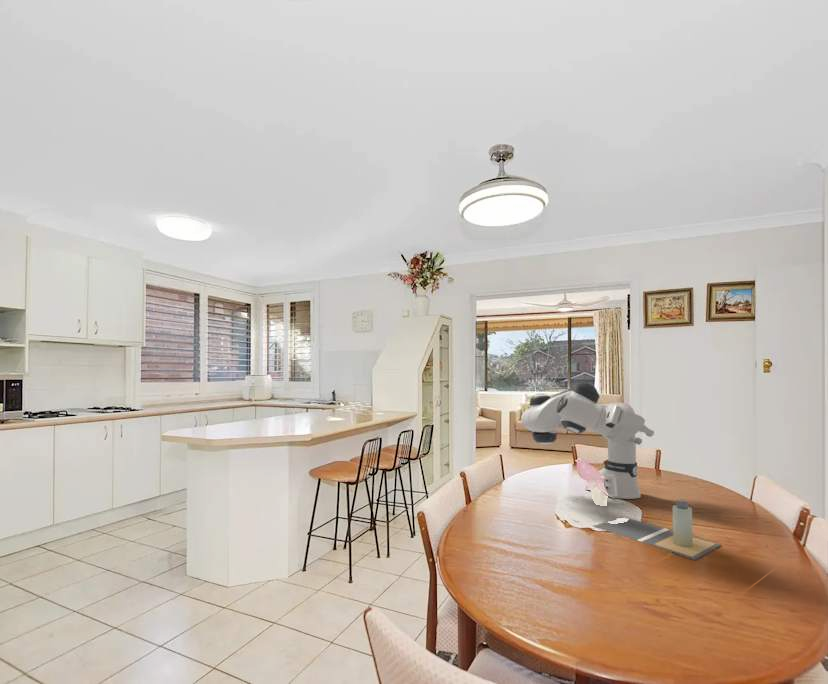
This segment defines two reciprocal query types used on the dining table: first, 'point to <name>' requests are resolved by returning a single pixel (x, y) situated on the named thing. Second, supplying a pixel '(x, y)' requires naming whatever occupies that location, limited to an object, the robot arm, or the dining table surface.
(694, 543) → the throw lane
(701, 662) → the dining table surface
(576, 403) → the robot arm
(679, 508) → the bottle
